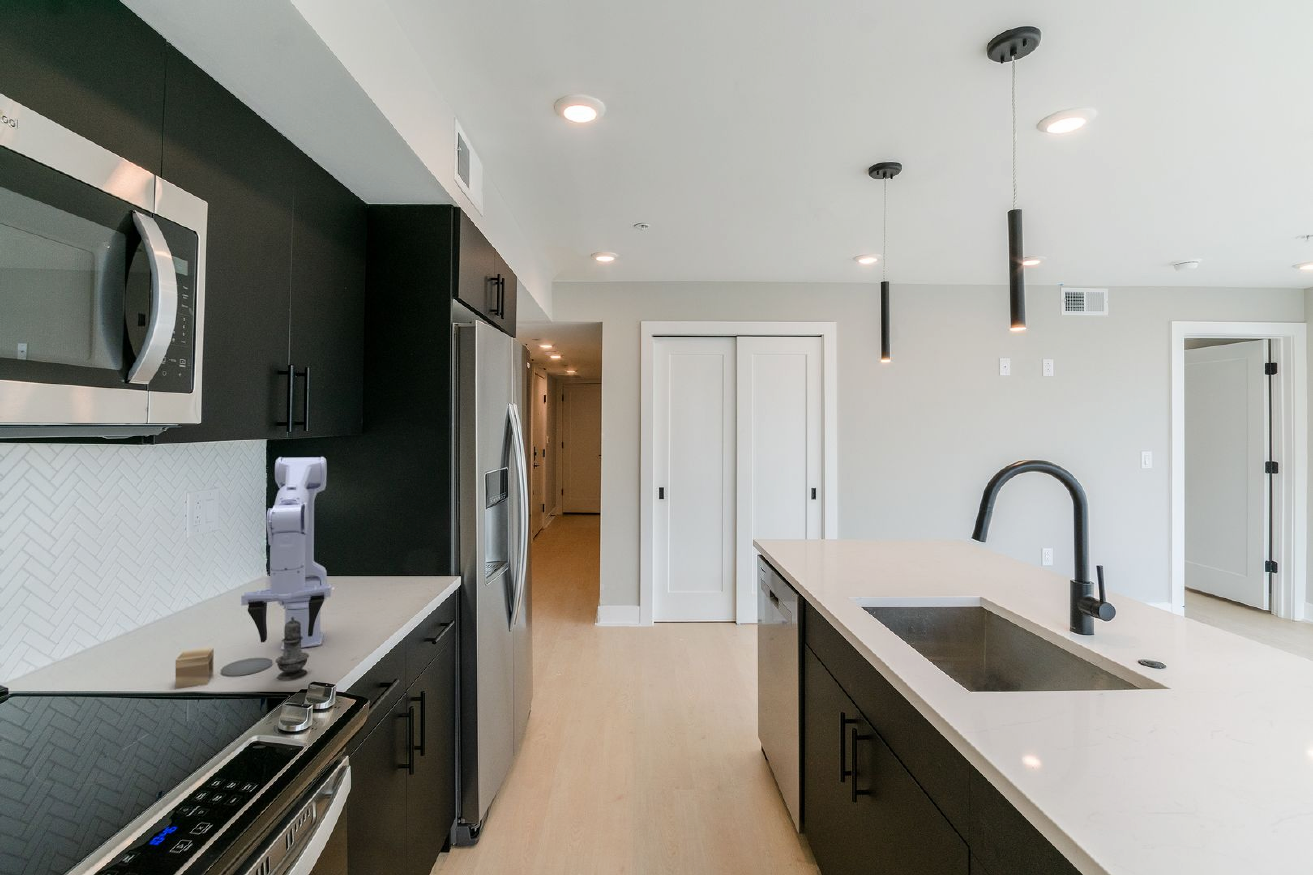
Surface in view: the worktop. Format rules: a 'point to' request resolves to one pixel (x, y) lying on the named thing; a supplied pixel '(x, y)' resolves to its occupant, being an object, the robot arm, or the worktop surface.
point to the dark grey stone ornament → (292, 653)
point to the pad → (246, 667)
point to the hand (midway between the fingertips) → (287, 637)
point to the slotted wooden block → (194, 668)
